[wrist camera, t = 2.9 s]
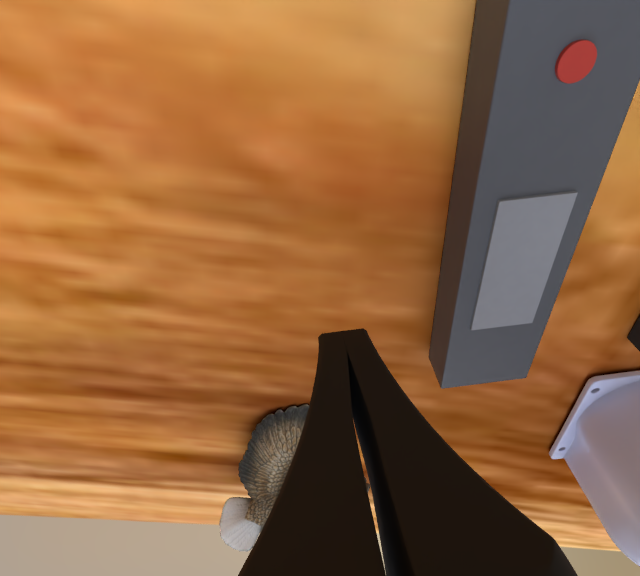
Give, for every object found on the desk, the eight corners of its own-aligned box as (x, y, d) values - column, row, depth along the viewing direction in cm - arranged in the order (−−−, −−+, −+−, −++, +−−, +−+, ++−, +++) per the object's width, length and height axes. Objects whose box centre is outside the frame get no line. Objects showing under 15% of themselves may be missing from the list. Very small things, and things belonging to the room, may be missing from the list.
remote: (507, 346, 23) (527, 380, 21) (428, 356, 23) (441, 391, 21) (628, -41, 12) (690, -40, 10) (479, -26, 12) (516, -22, 10)
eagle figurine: (339, 498, 30) (394, 457, 24) (286, 600, 25) (338, 584, 19) (257, 434, 31) (289, 379, 25) (191, 520, 26) (210, 479, 20)
